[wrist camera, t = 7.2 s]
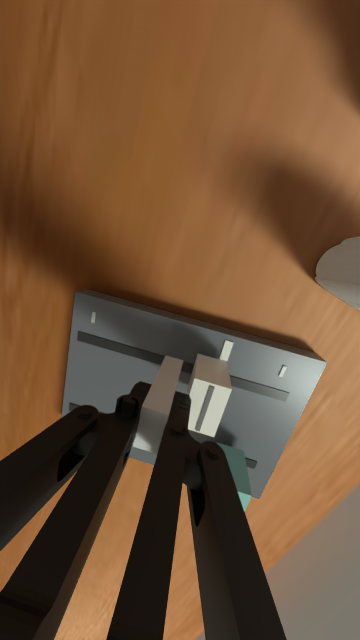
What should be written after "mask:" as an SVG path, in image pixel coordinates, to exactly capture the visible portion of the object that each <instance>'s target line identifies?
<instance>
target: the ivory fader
mask: <svg viewBox="0 0 360 640" xmlns="http://www.w3.org/2000/svg"><path fill="white" fill-rule="evenodd" d="M231 391H232V387H231V381H230V375H229V370H228V364H227V362H226V361H222V360H219V359H215V358H212V357H208V356H205V355H202V354H197V358H196V361H195V364H194V367H193V371H192V374H191V377H190V381H189V384H188V387H187V391H186V394H188V395H189V396H190V398H191V408H190V416H189V423H188V429H189V430H192V431H195V432H198V433H202V434H205V435H208V436H211V437H214V436H215V434H216V431H217V428H218V426H219V423H220V420H221V418H222V415H223V412H224V409H225V407H226V404H227V401H228V399H229V396H230V393H231Z"/></svg>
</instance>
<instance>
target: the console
mask: <svg viewBox="0 0 360 640" xmlns="http://www.w3.org/2000/svg"><path fill="white" fill-rule="evenodd" d="M197 354H202V355H205V356H208V357H212V358H215V359H219V360H222V361H226V362H227V364H228V370H229V375H230V381H231V387H232V391H231V393H230V396H229V399H228V401H227V404H226V407H225V409H224V412H223V415H222V418H221V420H220V423H219V426H218V428H217V431H216V434H215V436H214V437H211V436H208V435H205V434H202V433H198V432H195V431H192V430H189V429H188V431H189V433H190V435H191V436H192V437H193V438H194V439H195V440H196V441H198V442H199V443H201V444H202V443H203V442H205V441H212V442H215V443H216V444H217V443H221V444H224V445H227V446H230V447H233V448H237V449H240V450H243V451H244V455H245V460H246V466H247V471H248V477H249V482H250V488H251V493H252V497H255V498H258V499H259V498H260V496H261V494H262V492H263V490H264V488H265V486H266V484H267V482H268V480H269V478H270V476H271V474H272V472H273V470H274V468H275V466H276V464H277V462H278V460H279V458H280V456H281V454H282V452H283V450H284V448H285V446H286V444H287V442H288V440H289V438H290V436H291V434H292V432H293V430H294V428H295V426H296V424H297V422H298V420H299V418H300V416H301V414H302V412H303V410H304V408H305V406H306V404H307V402H308V400H309V398H310V396H311V394H312V392H313V390H314V388H315V386H316V384H317V382H318V380H319V378H320V376H321V374H322V372H323V370H324V368H325V366H326V364H327V362H326V361H325V360H324V359H322V358H321V357H320V356H319V355H318V354H317V353H315V352H311V351H308V350H304V349H301V348H297V347H294V346H290V345H286V344H283V343H279V342H276V341H272V340H268V339H265V338H261V337H258V336H254V335H251V334H247V333H243V332H240V331H236V330H233V329H229V328H225V327H222V326H218V325H215V324H211V323H208V322H204V321H200V320H197V319H193V318H190V317H186V316H183V315H179V314H175V313H172V312H168V311H165V310H161V309H157V308H154V307H150V306H147V305H143V304H140V303H136V302H132V301H129V300H125V299H122V298H118V297H114V296H111V295H107V294H104V293H100V292H97V291H93V290H89V289H85V290H81V291H76V292H75V299H74V308H73V317H72V326H71V335H70V344H69V353H68V362H67V371H66V380H65V389H64V398H63V407H62V416H61V418H62V417H64V416H65V415H66V414H68V413H69V412H71V411H72V410H73V409H75V408H77V407H79V406H82V405H91V406H94V407H96V408H97V409H98V412H99V413H102V414H109V413H114V412H115V408H116V403H117V399H118V398H119V397H120V396H122V395H128V394H130V392H131V390H132V388H133V387H134V385H135V384H136V383H138V382H139V381H142V382H145V383H149V384H153V382H154V379H155V377H156V375H157V373H158V371H159V369H160V367H161V364H162V362H163V360H164V358H165V356H170V357H173V358H177V359H180V360H183V364H182V368H181V371H180V375H179V379H178V383H177V386H176V390H175V391H178V392H181V393H185V394H186V391H187V387H188V384H189V381H190V377H191V374H192V371H193V367H194V364H195V361H196V358H197ZM133 443H134V442H133ZM129 457H131V458H134V459H137V460H140V461H143V462H147V463H150V464H153V465H154V464H155V461H156V457H157V454H155V453H152V452H149V451H146V450H143V449H139V448H136V447H133V445H132V447H131V451H130V455H129Z"/></svg>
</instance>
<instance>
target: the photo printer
mask: <svg viewBox="0 0 360 640" xmlns="http://www.w3.org/2000/svg"><path fill="white" fill-rule="evenodd" d="M316 275H317V276H316V277H315V280H316V281H317V282H318V283H319V284H320V285H321V286H322V287H323V288H324V289H326V290H327V291H329V292H330V293H332V294H333V295H335V296H336V297H337V298H339V299H341V300H343V301H344V302H346V303H347V304H349V305H351V306H352V307H354V308H355V309H357V310H359V311H360V237H354V238H349V239H346V240H343V241H342V243H341V244H339V245H336V246H334V247H332V248H330V249H329V250H327V251H326V252H325V253H324V254H323V255H322V257H321V258H320V260H319V262H318V264H317V267H316Z"/></svg>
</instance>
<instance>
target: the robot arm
mask: <svg viewBox="0 0 360 640" xmlns="http://www.w3.org/2000/svg"><path fill="white" fill-rule="evenodd" d="M182 364H183V360H180V359H177V358H173V357H170V356H165V358H164V360H163V362H162V364H161V367H160V369H159V371H158V373H157V375H156V377H155V379H154V382H153V384H149V383H145V382H142V381H139V382H138V383H136V384H135V385H134V387H133V388H132V390H131V392H130V394H128V395H122V396H120V397H119V398H118V399H117V403H116V408H115V412H114V413H109V414H102V413H99V412H98V409H97V408H96V407H94V406H91V405H82V406H79V407H77V408H75V409H73V410H72V411H71V412H69V413H68V414H66V415H65V416H64V417H62V418H61V419H59V420H58V421H56V422H55V423H54V424H52V425H51V426H49V427H48V428H47V429H45V430H44V431H42V432H41V433H39V434H38V435H37V436H35V437H34V438H32V439H31V440H30V441H28V442H27V443H25V444H24V445H22V446H21V447H20V448H18V449H17V450H15V451H14V452H13V453H11V454H10V455H8V456H7V457H5V458H4V459H3V460H1V461H0V551H1V550H2V549H3V548H4V547H5V546H6V545H7V544H8V543H9V542H10V541H11V540H12V538H13V537H14V536H15V535H16V534H17V533H18V532H19V531H20V530H21V529H22V528H23V527H24V526H25V525H26V524H27V523H28V522H29V521H30V520H31V519H32V518H33V516H34V515H35V514H36V513H37V512H38V511H39V510H40V509H41V508H42V507H43V506H44V505H45V504H46V503H47V502H48V501H49V500H50V499H51V498H52V497H53V495H54V494H55V493H56V492H57V491H58V490H59V489H60V488H61V487H62V486H63V485H64V484H65V483H66V482H67V481H68V480H69V479H70V478H71V477H72V476H73V475H74V473H75V472H76V471H77V470H78V471H77V472H76V474H75V476H74V477H73V479H72V480H71V482H70V484H69V485H68V487H67V488H66V490H65V492H64V493H63V495H62V496H61V498H60V500H59V501H58V503H57V504H56V506H55V507H54V509H53V511H52V512H51V514H50V515H49V517H48V519H47V520H46V522H45V523H44V525H43V527H42V528H41V530H40V531H39V533H38V535H37V536H36V538H35V539H34V541H33V542H32V544H31V546H30V547H29V549H28V550H27V552H26V554H25V555H24V557H23V558H22V560H21V562H20V563H19V565H18V566H17V568H16V570H15V571H14V573H13V574H12V576H11V577H10V579H9V581H8V582H7V584H6V585H5V587H4V588H3V589H2V591H1V592H0V640H54V638H55V636H56V633H57V631H58V628H59V626H60V623H61V621H62V618H63V616H64V614H65V611H66V609H67V606H68V604H69V601H70V599H71V597H72V594H73V592H74V589H75V587H76V584H77V582H78V579H79V577H80V575H81V572H82V570H83V567H84V565H85V562H86V560H87V558H88V555H89V553H90V550H91V548H92V545H93V543H94V540H95V538H96V536H97V533H98V531H99V528H100V526H101V523H102V521H103V519H104V516H105V514H106V511H107V509H108V506H109V504H110V502H111V499H112V497H113V494H114V492H115V489H116V487H117V484H118V482H119V480H120V477H121V475H122V472H123V470H124V467H125V465H126V463H127V460H128V458H129V455H130V451H131V447H132V445H133V447H136V448H139V449H143V450H146V451H149V452H152V453H155V454H157V457H156V461H155V464H154V468H153V472H152V475H151V479H150V483H149V486H148V490H147V494H146V497H145V501H144V504H143V508H142V512H141V515H140V519H139V523H138V526H137V530H136V534H135V537H134V541H133V544H132V548H131V552H130V555H129V559H128V563H127V566H126V570H125V574H124V577H123V581H122V585H121V588H120V592H119V595H118V599H117V603H116V606H115V610H114V614H113V617H112V621H111V625H110V628H109V632H108V635H107V639H106V640H163V633H164V625H165V617H166V609H167V601H168V594H169V586H170V578H171V570H172V562H173V554H174V546H175V538H176V530H177V522H178V514H179V506H180V498H181V490H182V482H183V483H184V484H185V485H187V493H188V501H189V509H190V517H191V525H192V533H193V541H194V549H195V557H196V565H197V573H198V581H199V590H200V598H201V606H202V614H203V622H204V630H205V638H206V640H287V639H286V637H285V633H284V630H283V627H282V624H281V622H280V618H279V615H278V612H277V610H276V606H275V603H274V600H273V597H272V594H271V591H270V588H269V585H268V582H267V579H266V576H265V573H264V570H263V567H262V564H261V561H260V558H259V555H258V552H257V549H256V546H255V543H254V540H253V537H252V534H251V531H250V528H249V525H248V522H247V519H246V515H245V512H244V509H243V506H242V503H241V500H240V497H239V494H238V491H237V488H236V485H235V482H234V479H233V476H232V473H231V470H230V467H229V464H228V461H227V458H226V455H225V452H224V451H223V449H222V448H221V447H220V446H219V445H218V444H216V443H215V442H212V441H205V442H203V443H202V444H201V443H199V442H198V441H196V440H195V439H194V438H193V437H192V436H191V435H190V433H189V431H188V423H189V416H190V408H191V398H190V396H189V395H188V394H185V393H181V392H178V391H175V390H176V386H177V383H178V379H179V375H180V371H181V368H182ZM133 442H134V443H133Z"/></svg>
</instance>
